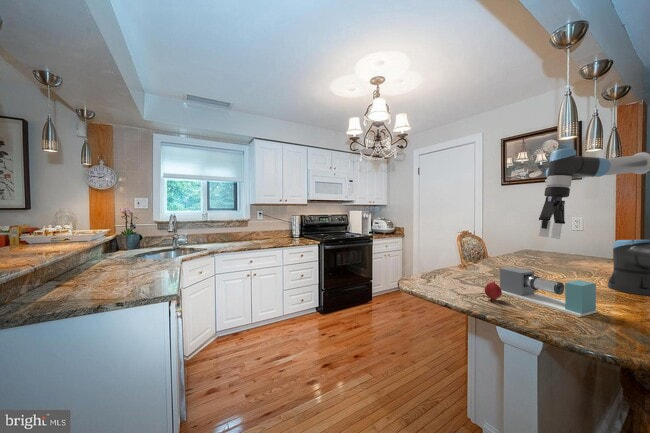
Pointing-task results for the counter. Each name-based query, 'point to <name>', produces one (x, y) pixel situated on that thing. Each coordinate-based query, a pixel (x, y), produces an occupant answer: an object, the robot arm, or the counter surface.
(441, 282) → the counter surface
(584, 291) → the socket
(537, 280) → the slip tube
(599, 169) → the robot arm
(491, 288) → the onion
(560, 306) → the board
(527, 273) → the sleeve
